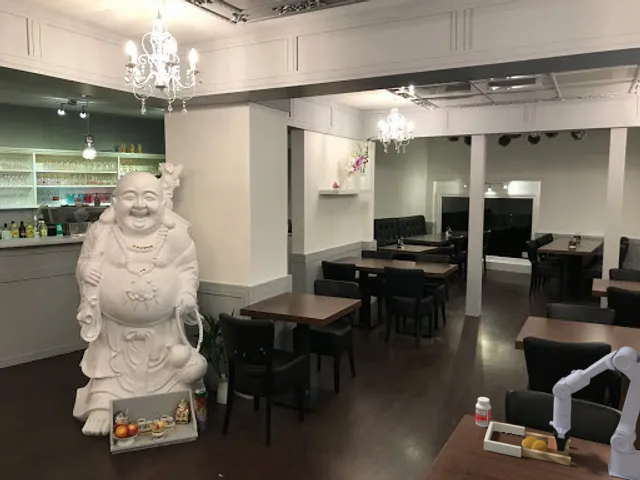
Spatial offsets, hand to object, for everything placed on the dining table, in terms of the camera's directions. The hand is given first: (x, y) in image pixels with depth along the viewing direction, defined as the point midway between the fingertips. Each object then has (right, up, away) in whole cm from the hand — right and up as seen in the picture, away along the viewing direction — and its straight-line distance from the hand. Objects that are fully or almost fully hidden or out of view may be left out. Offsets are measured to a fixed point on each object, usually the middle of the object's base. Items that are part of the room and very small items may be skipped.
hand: (560, 447), depth 188 cm
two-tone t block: (-1, -2, 0) cm, 2 cm away
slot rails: (-4, -2, +2) cm, 5 cm away
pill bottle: (-21, 0, +24) cm, 32 cm away
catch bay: (-17, -2, +9) cm, 19 cm away
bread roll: (-8, -2, +4) cm, 9 cm away
